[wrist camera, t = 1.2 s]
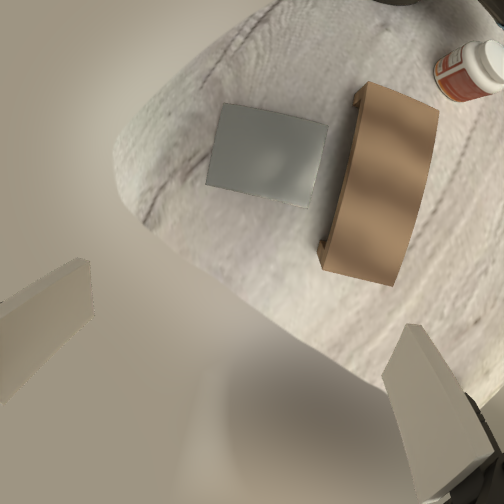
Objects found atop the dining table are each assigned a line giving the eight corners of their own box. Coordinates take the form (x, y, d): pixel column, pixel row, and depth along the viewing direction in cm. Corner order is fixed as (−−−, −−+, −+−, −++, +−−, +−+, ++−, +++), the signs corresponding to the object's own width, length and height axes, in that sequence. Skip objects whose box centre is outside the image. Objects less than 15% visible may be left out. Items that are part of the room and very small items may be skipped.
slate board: (228, 107, 30) (223, 102, 27) (324, 129, 29) (328, 125, 26) (212, 182, 32) (205, 184, 30) (306, 205, 32) (308, 209, 29)
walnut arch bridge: (354, 94, 27) (368, 81, 22) (416, 117, 27) (439, 110, 21) (316, 252, 33) (322, 270, 28) (377, 267, 33) (393, 286, 27)
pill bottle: (474, 102, 24) (527, 91, 14) (441, 103, 26) (493, 88, 15) (460, 59, 23) (507, 37, 12) (426, 58, 24) (470, 29, 13)
